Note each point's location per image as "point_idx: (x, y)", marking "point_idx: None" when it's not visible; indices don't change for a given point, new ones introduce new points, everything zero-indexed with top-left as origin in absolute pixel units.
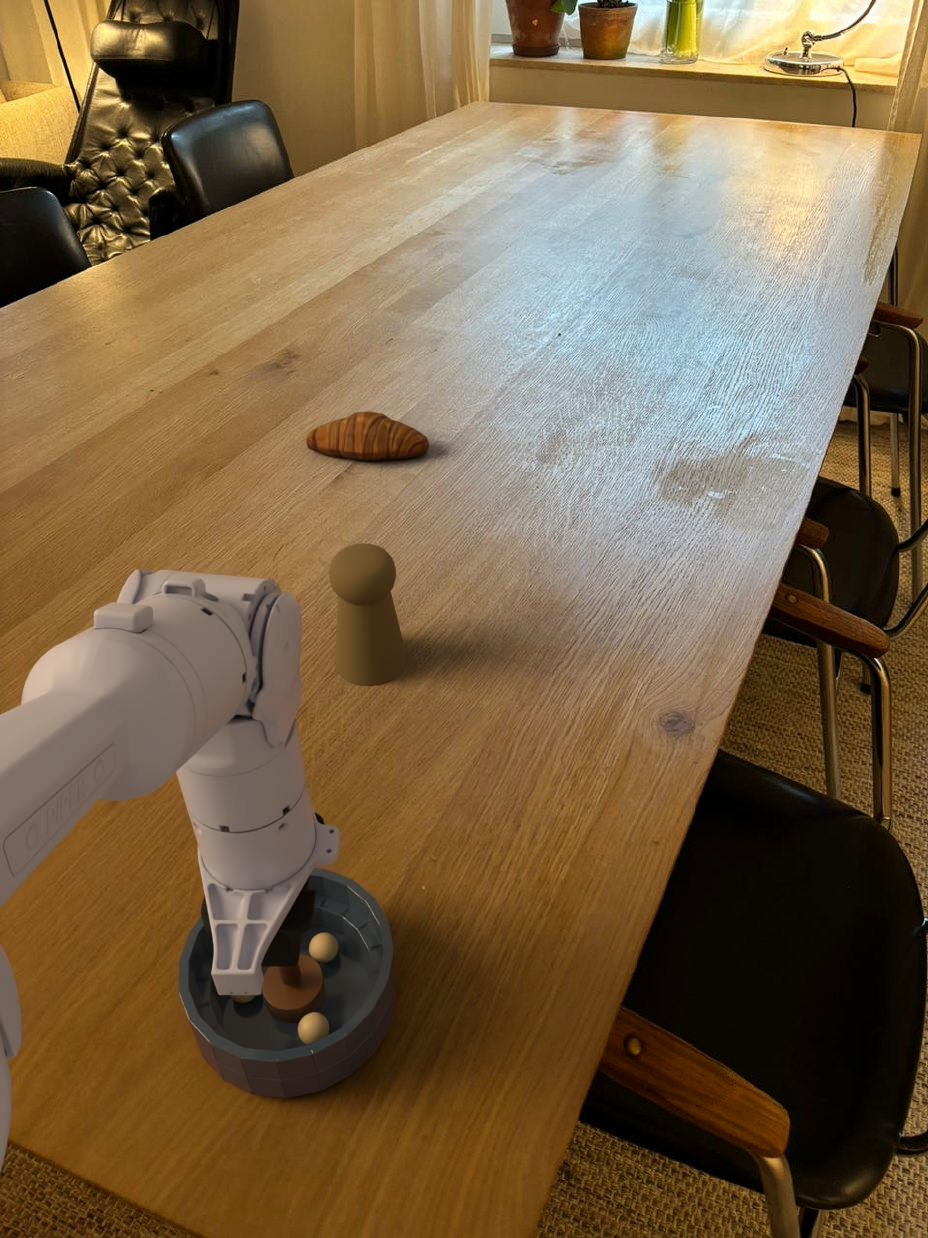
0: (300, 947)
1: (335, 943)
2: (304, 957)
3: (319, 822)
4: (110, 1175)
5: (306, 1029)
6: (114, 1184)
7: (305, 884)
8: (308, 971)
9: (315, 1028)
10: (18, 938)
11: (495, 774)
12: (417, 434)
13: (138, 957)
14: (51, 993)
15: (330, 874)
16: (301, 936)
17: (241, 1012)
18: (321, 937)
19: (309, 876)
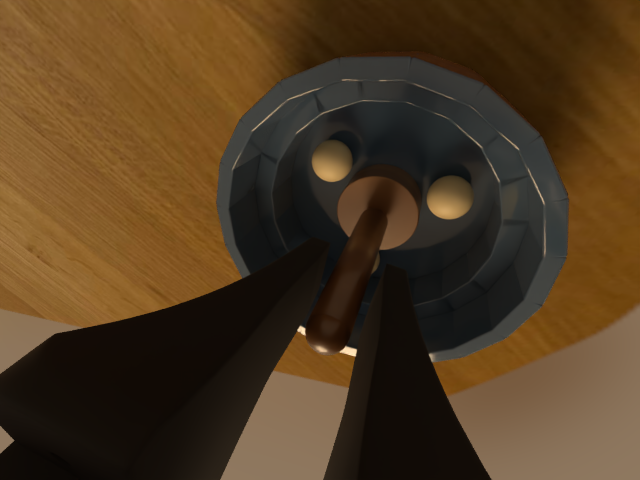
0: (399, 294)
1: (331, 147)
2: (345, 194)
3: (7, 412)
4: (499, 371)
5: (456, 214)
6: (510, 371)
7: (270, 314)
8: (368, 193)
9: (460, 203)
10: None
11: None
12: None
13: None
14: (321, 363)
15: (229, 156)
16: (385, 304)
17: (385, 257)
18: (321, 168)
19: (253, 333)
